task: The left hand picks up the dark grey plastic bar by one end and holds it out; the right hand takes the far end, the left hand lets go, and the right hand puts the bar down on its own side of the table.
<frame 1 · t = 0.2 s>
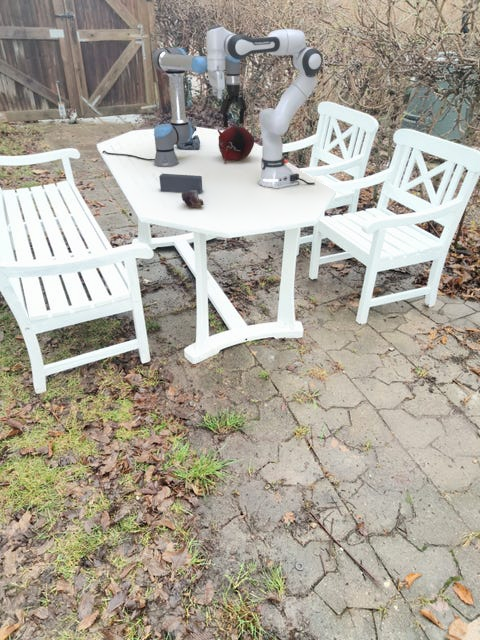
left hand: (233, 125, 259), 28 cm above the table, tool pointing down, fingers open, 13 cm apart
right hand: (217, 97, 225), 47 cm above the table, tool pointing down, fingers open, 8 cm apart
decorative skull: (235, 159, 303), on the table
bar: (181, 191, 249), on the table
koala plush: (188, 147, 329), on the table
rock: (192, 206, 230), on the table
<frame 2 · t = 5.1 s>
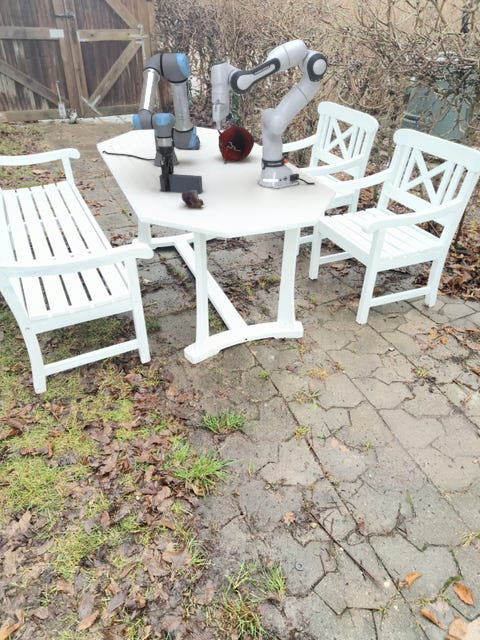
left hand: (169, 189, 250), 1 cm above the table, tool pointing down, fingers closed on bar, 5 cm apart
right hand: (221, 127, 234), 32 cm above the table, tool pointing down, fingers open, 8 cm apart
bar: (181, 191, 249), on the table, touching left hand
everything else where it was.
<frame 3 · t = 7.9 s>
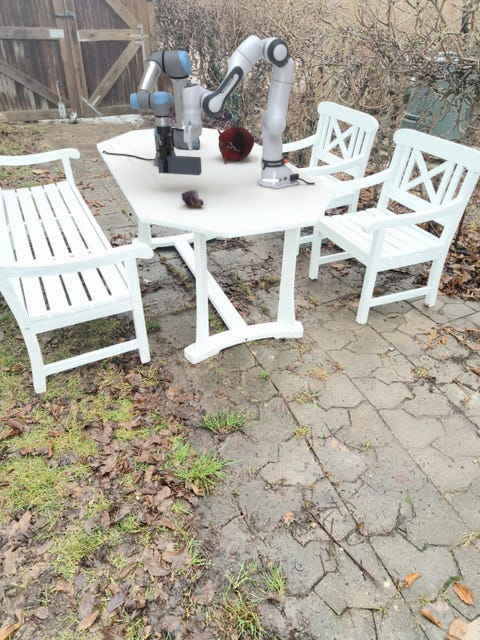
left hand: (167, 170, 245), 11 cm above the table, tool pointing down, fingers closed on bar, 5 cm apart
right hand: (193, 148, 235), 23 cm above the table, tool pointing down, fingers open, 8 cm apart
bar: (180, 172, 244), point 10 cm above the table, touching left hand
everything else where it was.
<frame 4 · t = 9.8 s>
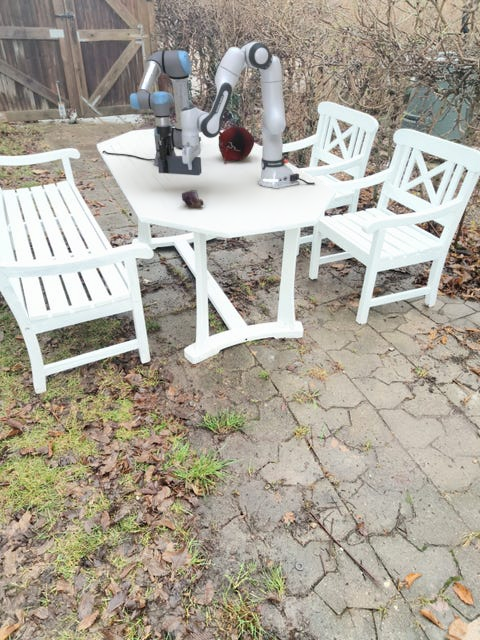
left hand: (167, 170, 245), 11 cm above the table, tool pointing down, fingers closed on bar, 5 cm apart
right hand: (192, 167, 241), 13 cm above the table, tool pointing down, fingers closed on bar, 5 cm apart
bar: (180, 172, 244), point 10 cm above the table, touching left hand, right hand
everything else where it was.
when the left hand's fingers open (11 cm above the table, at t = 10.6 s): bar stays where it is, held by the right hand.
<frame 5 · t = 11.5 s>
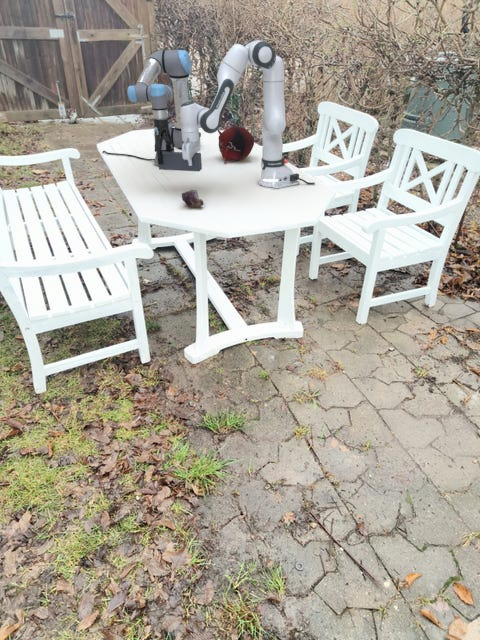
left hand: (165, 160, 242), 16 cm above the table, tool pointing down, fingers open, 13 cm apart
right hand: (192, 163, 240), 15 cm above the table, tool pointing down, fingers closed on bar, 5 cm apart
bar: (180, 169, 243), point 12 cm above the table, touching right hand
everything else where it was.
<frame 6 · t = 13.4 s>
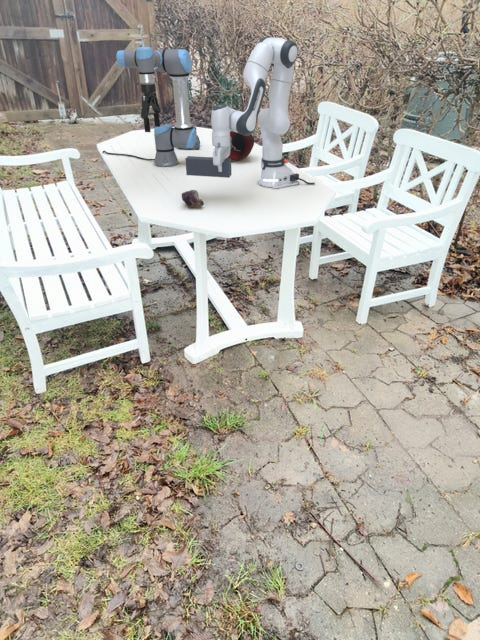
left hand: (152, 129, 234), 32 cm above the table, tool pointing down, fingers open, 13 cm apart
right hand: (222, 169, 228), 16 cm above the table, tool pointing down, fingers closed on bar, 5 cm apart
bar: (209, 175, 231), point 13 cm above the table, touching right hand
everything else where it was.
when the right hand's fingers open (4 cm above the table, at t = 17.2 s): bar drops 1 cm, on the table.
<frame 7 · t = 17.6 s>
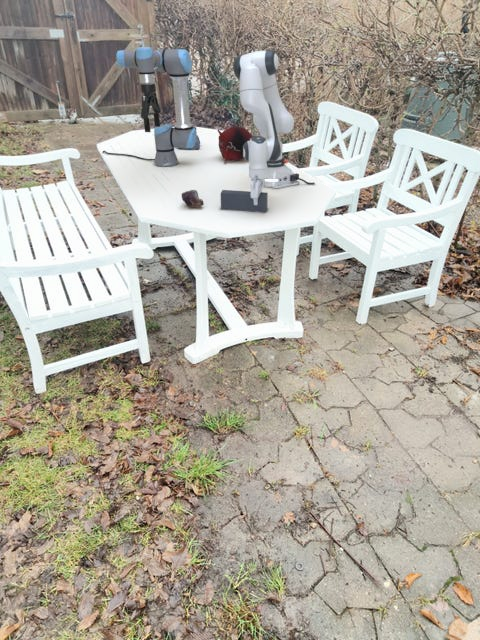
left hand: (152, 129, 234), 32 cm above the table, tool pointing down, fingers open, 13 cm apart
right hand: (257, 201, 222), 4 cm above the table, tool pointing down, fingers open, 8 cm apart
bar: (244, 209, 226), on the table
everything else where it was.
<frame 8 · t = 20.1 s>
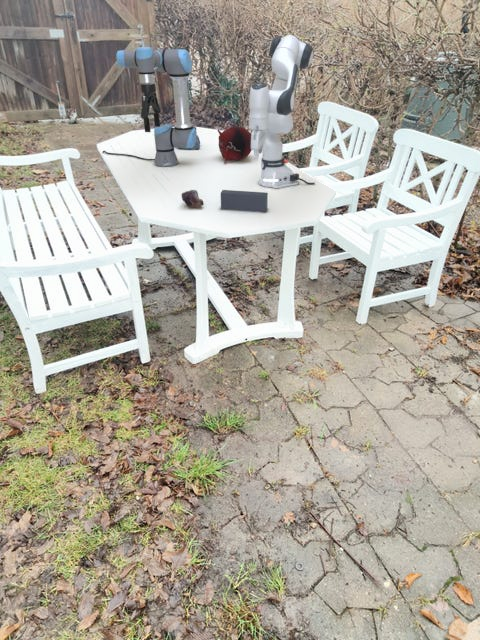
left hand: (152, 129, 234), 32 cm above the table, tool pointing down, fingers open, 13 cm apart
right hand: (258, 155, 210), 26 cm above the table, tool pointing down, fingers open, 8 cm apart
nothing on the table moved.
at the end: bar inside the target area (6.8 cm from its centre), on the table; the left hand is holding nothing; the right hand is holding nothing; bar at rest at the end (0.0 cm/s) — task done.
